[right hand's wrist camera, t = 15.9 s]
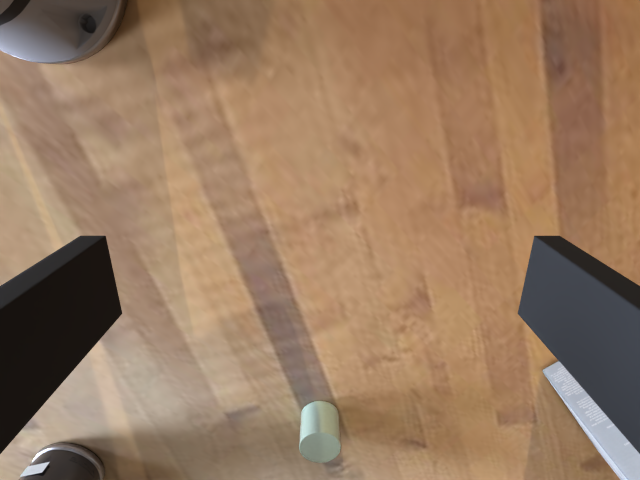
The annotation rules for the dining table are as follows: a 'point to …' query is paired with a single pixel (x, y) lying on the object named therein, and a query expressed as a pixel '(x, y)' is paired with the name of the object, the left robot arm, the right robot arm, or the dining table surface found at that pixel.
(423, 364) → the dining table surface
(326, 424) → the mint green cylinder
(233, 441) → the dining table surface
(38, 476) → the left robot arm
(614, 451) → the hard drive box
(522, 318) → the right robot arm
